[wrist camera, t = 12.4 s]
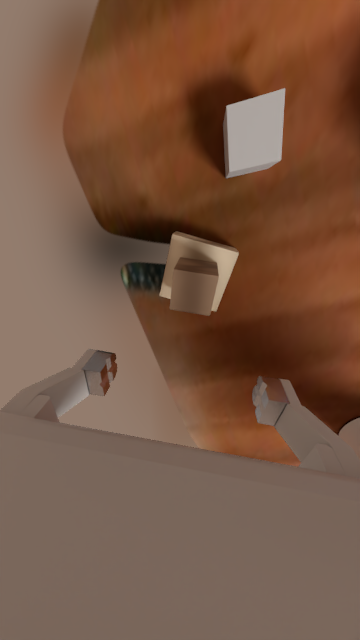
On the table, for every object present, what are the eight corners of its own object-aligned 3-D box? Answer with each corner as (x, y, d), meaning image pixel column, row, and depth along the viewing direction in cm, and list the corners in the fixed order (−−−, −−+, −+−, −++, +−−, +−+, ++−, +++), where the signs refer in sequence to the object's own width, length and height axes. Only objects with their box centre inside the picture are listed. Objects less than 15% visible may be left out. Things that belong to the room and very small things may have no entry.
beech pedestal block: (235, 247, 29) (239, 253, 25) (215, 301, 33) (216, 311, 30) (176, 230, 29) (172, 234, 25) (164, 286, 33) (159, 295, 30)
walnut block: (216, 262, 26) (219, 276, 21) (209, 296, 29) (209, 315, 24) (180, 257, 26) (173, 269, 21) (176, 291, 29) (169, 309, 24)
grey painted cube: (269, 112, 21) (285, 88, 17) (267, 168, 24) (281, 160, 19) (222, 125, 22) (226, 105, 18) (225, 178, 25) (229, 172, 20)
